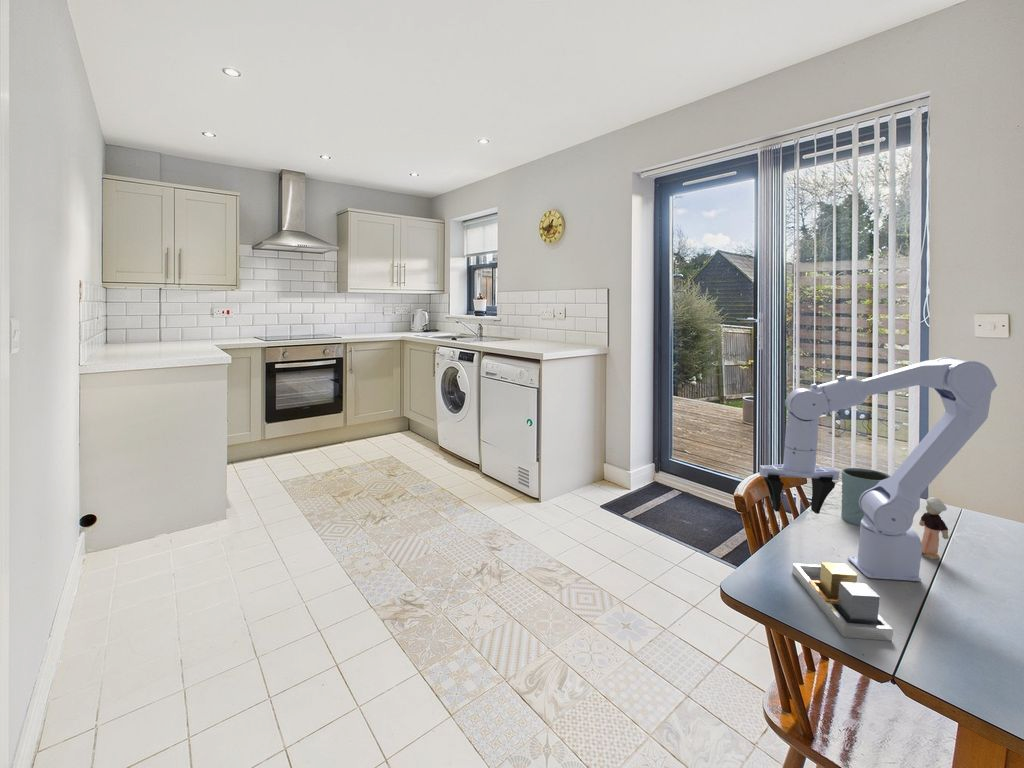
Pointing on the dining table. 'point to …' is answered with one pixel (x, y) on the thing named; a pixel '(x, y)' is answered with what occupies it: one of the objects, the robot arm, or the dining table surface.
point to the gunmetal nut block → (858, 603)
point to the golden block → (834, 578)
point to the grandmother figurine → (933, 527)
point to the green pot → (857, 491)
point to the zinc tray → (830, 606)
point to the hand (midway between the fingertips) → (795, 510)
